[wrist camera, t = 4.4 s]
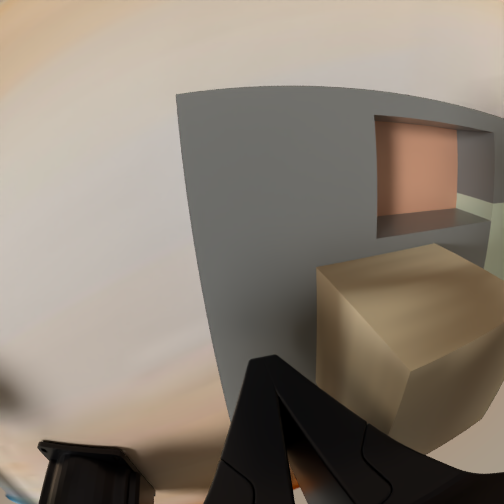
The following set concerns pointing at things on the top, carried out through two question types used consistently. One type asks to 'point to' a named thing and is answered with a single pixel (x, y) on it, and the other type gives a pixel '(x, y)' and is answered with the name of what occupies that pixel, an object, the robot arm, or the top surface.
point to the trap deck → (324, 202)
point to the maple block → (411, 342)
